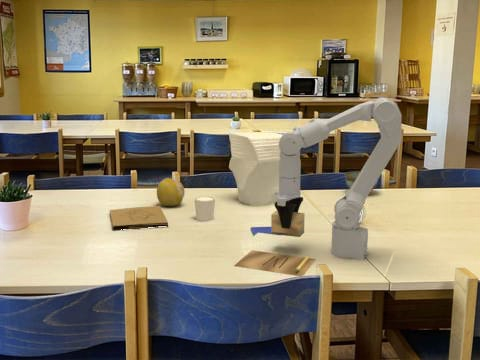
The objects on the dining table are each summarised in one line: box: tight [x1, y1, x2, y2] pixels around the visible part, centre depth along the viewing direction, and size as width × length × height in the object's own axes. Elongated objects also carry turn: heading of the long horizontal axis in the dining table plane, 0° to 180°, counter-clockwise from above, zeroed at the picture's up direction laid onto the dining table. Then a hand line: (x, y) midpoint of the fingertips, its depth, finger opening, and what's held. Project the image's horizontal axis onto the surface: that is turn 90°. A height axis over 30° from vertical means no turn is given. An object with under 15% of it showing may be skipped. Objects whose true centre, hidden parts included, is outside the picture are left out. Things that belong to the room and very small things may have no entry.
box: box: [109, 205, 169, 232], centre depth 183 cm, size 21×18×2 cm
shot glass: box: [194, 196, 216, 222], centre depth 184 cm, size 7×7×7 cm
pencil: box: [295, 255, 311, 273], centre depth 139 cm, size 11×1×1 cm, turn 158°
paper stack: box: [228, 131, 284, 206], centre depth 206 cm, size 21×27×26 cm
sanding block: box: [270, 209, 306, 238], centre depth 149 cm, size 8×4×6 cm, turn 68°
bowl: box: [344, 170, 379, 192], centre depth 221 cm, size 14×13×8 cm
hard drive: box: [250, 226, 278, 237], centre depth 167 cm, size 2×8×12 cm
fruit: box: [156, 177, 185, 207], centre depth 201 cm, size 10×11×10 cm
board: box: [233, 249, 317, 277], centre depth 142 cm, size 18×13×1 cm
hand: (288, 225), depth 149 cm, fingers closed on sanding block, 4 cm apart
